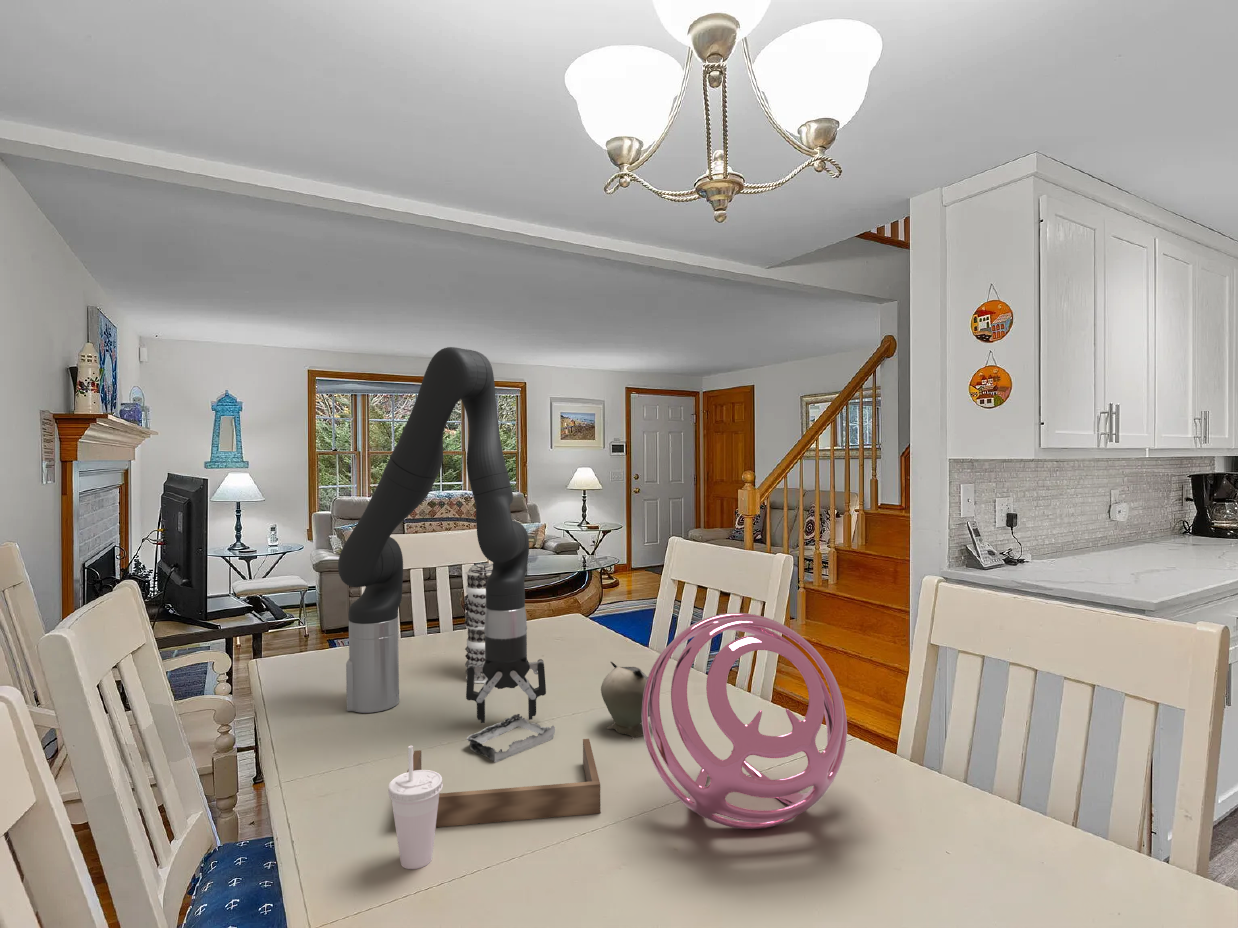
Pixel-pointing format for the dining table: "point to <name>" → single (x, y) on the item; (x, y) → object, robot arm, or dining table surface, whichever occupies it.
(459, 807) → the box
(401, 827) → the smoothie
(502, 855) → the dining table surface
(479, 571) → the decorative candle
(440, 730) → the dining table surface
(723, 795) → the pink openwork sphere
